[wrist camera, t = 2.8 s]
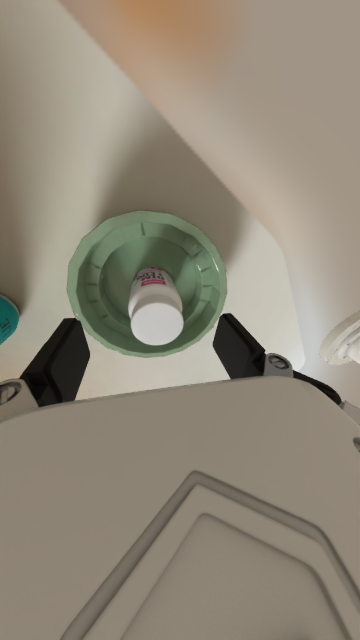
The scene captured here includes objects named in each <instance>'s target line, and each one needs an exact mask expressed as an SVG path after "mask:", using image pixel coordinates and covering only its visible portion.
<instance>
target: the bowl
mask: <svg viewBox="0 0 360 640" xmlns="http://www.w3.org/2000/svg"><path fill="white" fill-rule="evenodd" d="M149 266H155V267H159V268H162V269H163V270H165V271H166V272H167V273H168V274H169V275H170V277H171V279H172V281H173V283H174V285H175V287H176V289H177V292H178V294H179V296H180V298H181V302H182V316H183V320H184V324H183V329H182V331H181V333H180V334H179V335H178V337H177V338H175V339H174V340H173V341H171V342H169V343H167V344H163V345H149V344H146V343H143V342H141V341H140V340H138V339H137V338H136V337H135V335H134V334H133V332H132V329H131V318H130V316H129V311H128V305H129V298H130V293H131V287H132V282H133V278H134V276H135V275H136V273H137V272H138V271H140V270H141V269H143V268H145V267H149ZM67 294H68V297H69V300H70V303H71V306H72V310H73V313H74V315H75V317H76V318H77V320H80V321H81V324H82V326H83V328H84V329H85V330H86V332H87V333H88V334H89V335H90V336H92V337H93V338H94V339H96V340H97V341H98V342H100V343H101V344H102V345H104V346H105V347H107V348H109V349H112V350H114V351H117V352H119V353H122V354H124V355H129V356H136V357H143V358H149V357H161V356H167V355H170V354H173V353H176V352H180V351H182V350H184V349H186V348H188V347H189V346H191V345H193V344H195V343H196V342H198V341H199V340H200V339H201V338H202V337H203V336H205V335H206V334H207V333H208V332H209V331H210V330H211V329H212V327H213V326H214V324H215V322H216V321H217V319H218V317H219V316H220V314H221V312H222V310H223V306H224V302H225V298H226V295H227V280H226V269H225V267H224V264H223V262H222V259H221V257H220V255H219V252H218V250H217V248H216V246H215V245H214V244H213V243H212V242H211V241H210V240H209V239H208V237H207V236H206V235H205V234H204V233H203V232H202V231H201V230H200V229H199V228H198V227H197V226H195V225H193V224H191V223H189V222H187V221H185V220H183V219H181V218H179V217H177V216H176V215H174V214H171V213H163V212H154V211H145V210H140V211H139V210H137V211H133V212H129V213H126V214H122V215H118V216H115V217H111V218H108V219H106V220H105V221H104V222H102V223H101V224H100V225H99V226H97V227H96V228H95V229H93V230H92V231H91V232H90V233H88V234H87V235H86V236H84V237H83V239H82V240H81V242H80V244H79V245H78V247H77V249H76V251H75V253H74V255H73V257H72V259H71V260H70V262H69V266H68V279H67Z"/></svg>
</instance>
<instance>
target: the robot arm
mask: <svg viewBox="0 0 360 640" xmlns="http://www.w3.org/2000/svg"><path fill="white" fill-rule="evenodd" d="M213 348H214V350H215V351H216V353H217V355H218V357H219V359H220V360H221V362H222V364H223V366H224V368H225V369H226V371H227V373H228V375H229V377H230V378H231V379H230V380H222V381H214V382H206V383H198V384H191V385H183V386H176V387H168V388H161V389H153V390H146V391H139V392H132V393H124V394H117V395H110V396H103V397H96V398H89V399H83V400H76V401H74V400H75V398H76V395H77V392H78V389H79V386H80V384H81V381H82V378H83V375H84V372H85V369H86V367H87V364H88V361H89V358H90V351H89V348H88V344H87V341H86V338H85V334H84V331H83V328H82V324H81V321H80V320H77V319H76V318H65V319H63V321H62V322H61V323H60V325H59V326H58V327H57V329H56V330H55V332H54V333H53V334H52V336H51V337H50V338H49V340H48V341H47V342H46V343H45V344H44V345H43V347H42V348H41V349H40V351H39V352H38V353H37V355H36V356H35V358H34V359H33V360H32V362H31V363H30V364H29V366H28V367H27V368H26V370H25V371H24V372H23V374H22V375H21V376H20V378H16V379H9V380H5V381H2V382H0V640H360V409H359V408H357V407H355V406H354V405H352V404H350V403H349V402H347V401H346V400H345V401H343V402H342V401H341V398H340V397H339V395H338V394H337V393H336V391H335V390H333V389H332V388H331V387H329V386H328V385H326V384H324V383H322V382H320V381H317V380H315V379H313V378H310V377H308V376H306V375H303V374H301V373H299V372H296V371H294V370H293V369H292V365H291V363H290V362H289V361H288V360H287V359H286V358H284V357H283V356H281V355H278V354H275V353H269V354H267V355H266V354H265V353H264V352H265V349H264V348H263V347H262V346H261V345H260V344H259V343H258V342H257V341H256V339H255V338H254V337H253V336H252V335H251V334H250V333H249V332H248V331H247V330H246V329H245V328H244V327H243V326H242V324H241V323H240V322H239V321H238V320H237V319H236V318H235V317H234V316H233V315H232V314H231V313H226V314H222V316H220V318H219V322H218V326H217V329H216V333H215V337H214V341H213ZM337 356H338V357H339V358H341V359H342V360H352V359H353V360H355V361H356V362H358V363H359V364H360V327H359V328H358V329H356V330H355V331H353V332H352V333H351V334H350V335H349V336H347V337H346V338H345V339H344V341H343V342H342V343H341V344H340V346H339V348H338V350H337Z"/></svg>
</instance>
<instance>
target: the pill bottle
mask: <svg viewBox="0 0 360 640" xmlns="http://www.w3.org/2000/svg"><path fill="white" fill-rule="evenodd" d="M128 311H129V316H130V318H131V329H132V332H133V334H134V335H135V337H136V338H137V339H138V340H140V341H141V342H143V343H146V344H149V345H163V344H167V343H169V342H171V341H173V340H174V339H175V338H177V337H178V335H179V334H180V333H181V331H182V329H183V324H184V320H183V316H182V302H181V298H180V296H179V294H178V292H177V289H176V287H175V285H174V283H173V281H172V279H171V277H170V275H169V274H168V273H167V272H166V271H165V270H163V269H162V268H159V267H155V266H149V267H145V268H143V269H141V270H140V271H138V272H137V273H136V275H135V276H134V278H133V282H132V287H131V293H130V298H129V305H128Z"/></svg>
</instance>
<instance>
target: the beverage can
mask: <svg viewBox="0 0 360 640" xmlns="http://www.w3.org/2000/svg"><path fill="white" fill-rule="evenodd" d="M19 317H20V316H19V311H18V309H17V307H16V305H15V304H14V303H13V302H12V301H11V300H10V299H8V298H7V297H5V296H3V295H1V294H0V345H1V344H2V343H3V342H4V341H5V340H6V339H7V338H8V337H10V336H11V335H12V334H13V333H14V332H15V330H16V328H17V325H18V321H19Z"/></svg>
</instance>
